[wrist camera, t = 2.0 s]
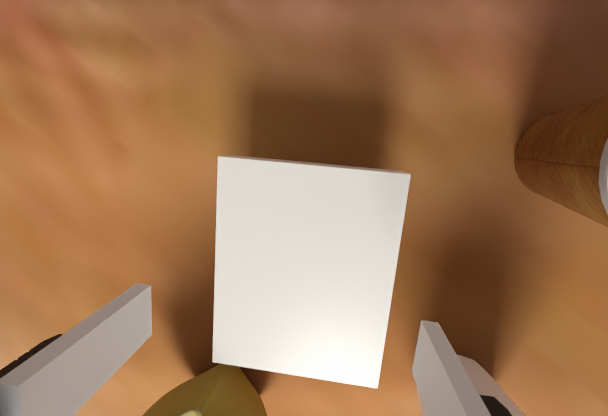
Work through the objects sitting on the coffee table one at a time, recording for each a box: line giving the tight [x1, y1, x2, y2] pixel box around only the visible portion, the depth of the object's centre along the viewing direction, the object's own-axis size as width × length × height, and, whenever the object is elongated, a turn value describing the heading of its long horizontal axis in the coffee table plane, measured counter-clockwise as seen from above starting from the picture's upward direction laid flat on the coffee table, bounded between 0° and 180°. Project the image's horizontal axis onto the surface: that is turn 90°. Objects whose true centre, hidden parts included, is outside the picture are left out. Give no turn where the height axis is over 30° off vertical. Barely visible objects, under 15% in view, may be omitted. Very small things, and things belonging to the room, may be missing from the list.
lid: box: [212, 155, 411, 388], centre depth 22 cm, size 12×15×2 cm
